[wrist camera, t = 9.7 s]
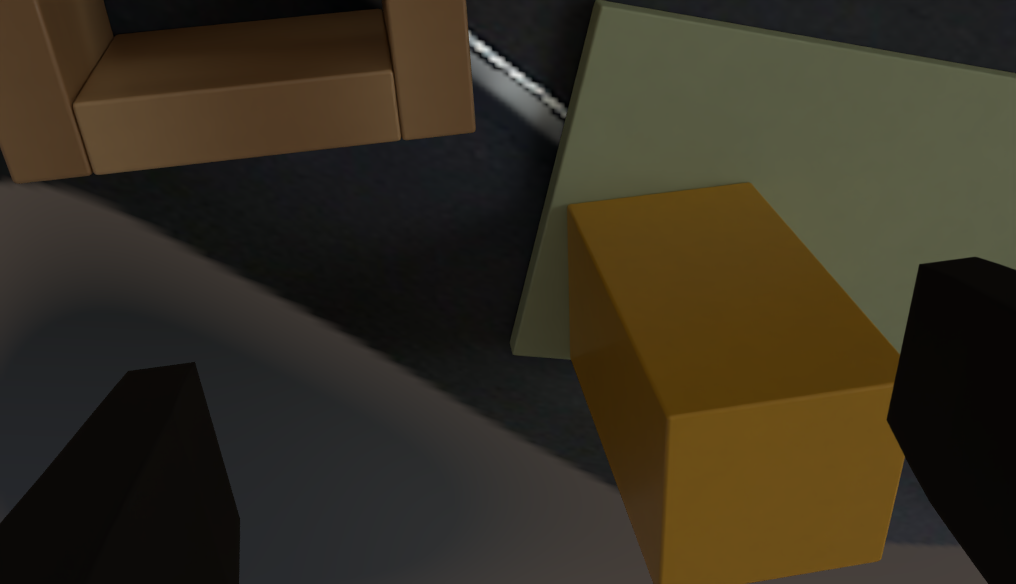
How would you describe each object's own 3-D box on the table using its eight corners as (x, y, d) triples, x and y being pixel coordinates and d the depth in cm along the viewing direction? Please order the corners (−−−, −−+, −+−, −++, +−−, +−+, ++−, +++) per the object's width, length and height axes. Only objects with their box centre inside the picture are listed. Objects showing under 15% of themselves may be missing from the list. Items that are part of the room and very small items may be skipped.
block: (569, 358, 22) (658, 600, 16) (566, 203, 20) (666, 418, 14) (736, 335, 22) (882, 562, 16) (750, 180, 20) (924, 379, 14)
